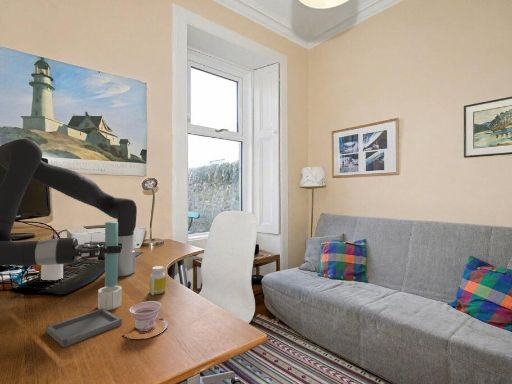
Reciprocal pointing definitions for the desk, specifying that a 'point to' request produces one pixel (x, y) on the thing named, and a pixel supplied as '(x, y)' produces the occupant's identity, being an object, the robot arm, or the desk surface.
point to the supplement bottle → (157, 281)
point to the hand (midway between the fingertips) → (121, 247)
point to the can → (52, 272)
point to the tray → (82, 326)
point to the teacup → (146, 315)
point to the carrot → (37, 267)
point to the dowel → (111, 259)
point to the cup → (109, 297)
